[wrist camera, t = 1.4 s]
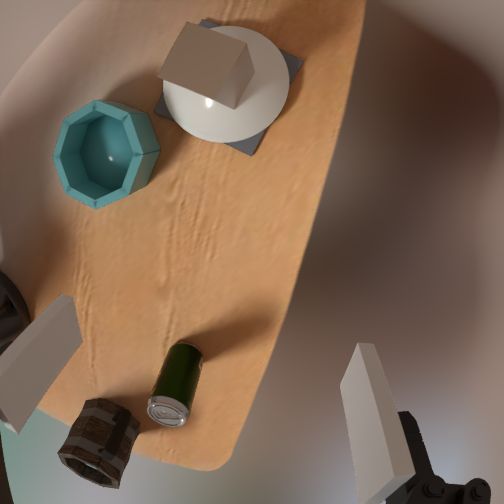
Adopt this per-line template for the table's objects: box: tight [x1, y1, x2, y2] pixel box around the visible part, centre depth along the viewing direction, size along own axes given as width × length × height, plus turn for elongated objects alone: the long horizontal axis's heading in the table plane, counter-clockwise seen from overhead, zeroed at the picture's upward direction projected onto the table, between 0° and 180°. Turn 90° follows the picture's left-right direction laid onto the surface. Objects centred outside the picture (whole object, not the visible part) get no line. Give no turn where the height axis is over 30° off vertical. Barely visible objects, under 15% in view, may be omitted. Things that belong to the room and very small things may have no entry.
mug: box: [58, 398, 140, 489], centre depth 45 cm, size 20×14×15 cm
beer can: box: [147, 342, 204, 427], centre depth 38 cm, size 5×5×12 cm
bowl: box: [53, 100, 161, 210], centre depth 30 cm, size 11×11×5 cm
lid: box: [157, 22, 289, 143], centre depth 23 cm, size 13×13×12 cm
